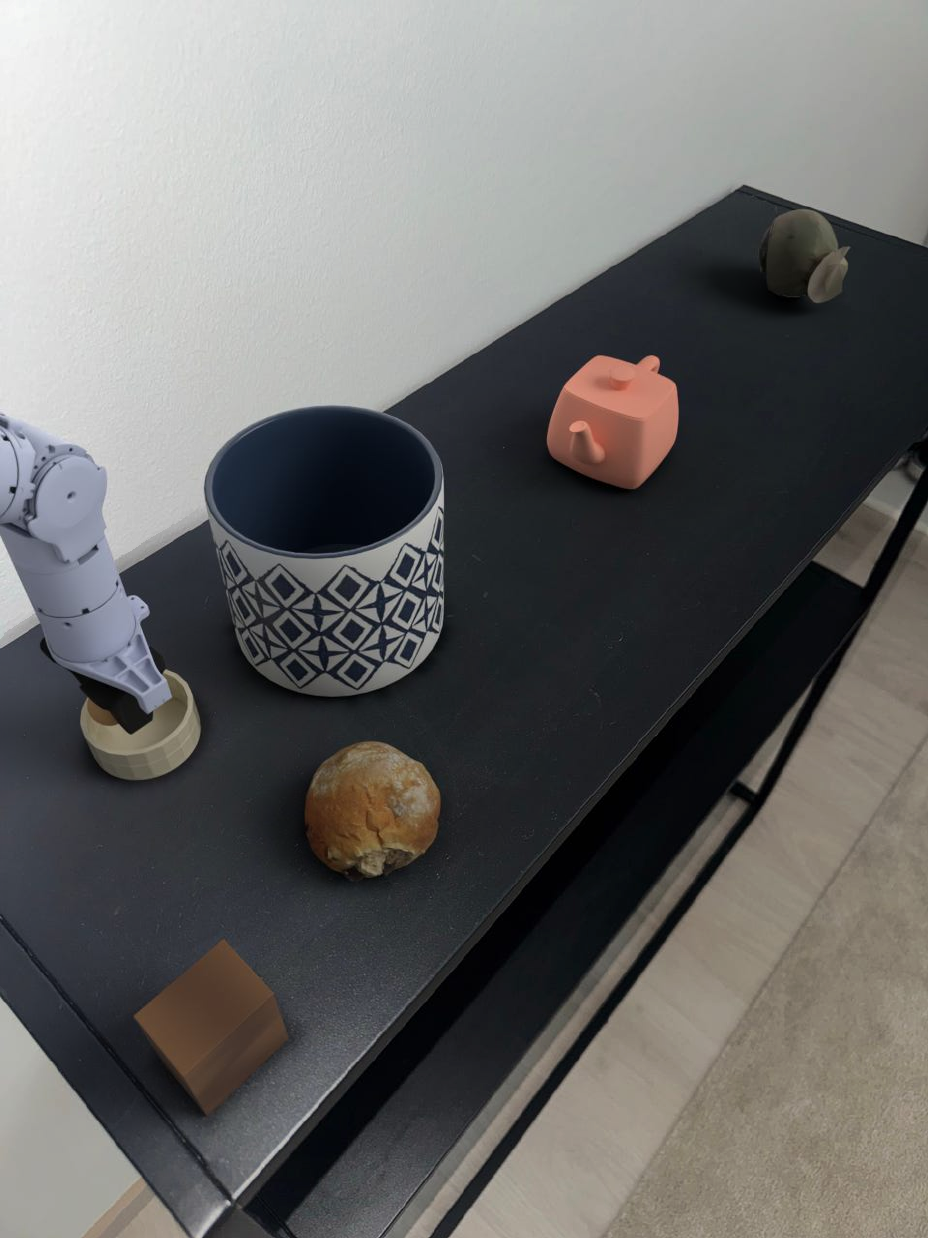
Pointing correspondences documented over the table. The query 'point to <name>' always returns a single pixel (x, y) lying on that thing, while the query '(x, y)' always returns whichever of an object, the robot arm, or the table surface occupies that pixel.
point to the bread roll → (371, 810)
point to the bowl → (148, 737)
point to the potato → (100, 714)
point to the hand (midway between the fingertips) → (125, 710)
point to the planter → (330, 546)
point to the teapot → (615, 421)
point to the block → (214, 1026)
